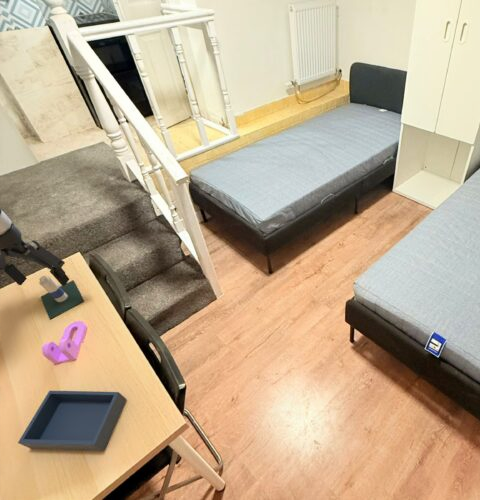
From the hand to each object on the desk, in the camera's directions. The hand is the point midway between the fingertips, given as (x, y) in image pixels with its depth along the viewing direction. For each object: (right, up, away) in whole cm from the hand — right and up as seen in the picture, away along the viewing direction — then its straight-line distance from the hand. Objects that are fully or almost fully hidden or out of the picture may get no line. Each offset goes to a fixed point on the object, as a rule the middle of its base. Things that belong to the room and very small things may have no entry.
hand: (44, 282), depth 102 cm
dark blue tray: (+27, -32, -21) cm, 47 cm away
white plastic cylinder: (+1, -6, +6) cm, 8 cm away
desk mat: (+1, -6, +6) cm, 9 cm away
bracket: (+13, -17, -5) cm, 22 cm away
